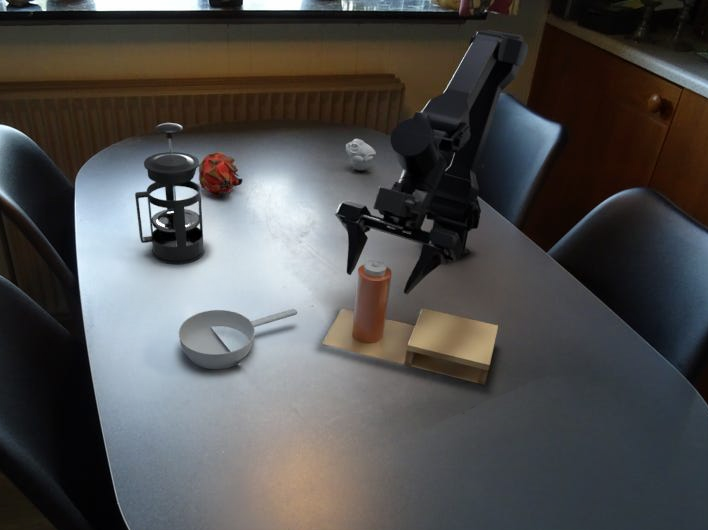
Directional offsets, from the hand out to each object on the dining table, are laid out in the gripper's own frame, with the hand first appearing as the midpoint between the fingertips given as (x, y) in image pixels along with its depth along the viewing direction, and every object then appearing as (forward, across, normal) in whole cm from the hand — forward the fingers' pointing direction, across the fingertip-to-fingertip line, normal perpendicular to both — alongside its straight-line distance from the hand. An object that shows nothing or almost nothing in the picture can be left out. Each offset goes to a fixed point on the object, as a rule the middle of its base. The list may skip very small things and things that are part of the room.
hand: (376, 283), depth 98 cm
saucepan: (+16, -15, -2) cm, 22 cm away
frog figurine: (-34, -31, +47) cm, 66 cm away
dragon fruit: (-13, -50, +27) cm, 58 cm away
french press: (+5, -40, +9) cm, 42 cm away
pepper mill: (+7, 0, +5) cm, 8 cm away
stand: (+6, +6, +7) cm, 11 cm away
